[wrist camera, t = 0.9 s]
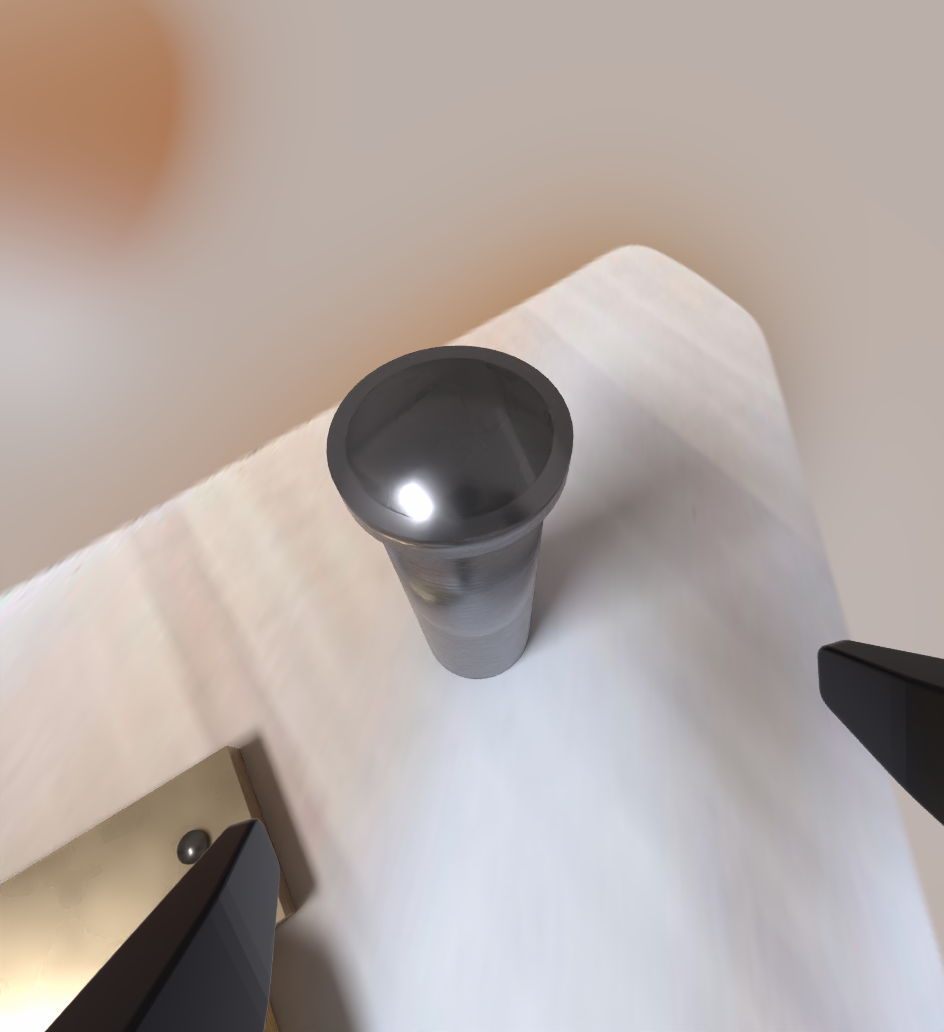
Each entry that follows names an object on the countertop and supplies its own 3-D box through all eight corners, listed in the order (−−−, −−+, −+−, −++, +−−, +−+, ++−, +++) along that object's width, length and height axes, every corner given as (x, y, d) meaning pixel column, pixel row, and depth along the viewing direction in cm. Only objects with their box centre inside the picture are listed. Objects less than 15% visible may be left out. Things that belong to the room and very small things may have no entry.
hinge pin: (563, 644, 21) (626, 456, 10) (457, 715, 20) (398, 591, 9) (494, 551, 24) (485, 316, 13) (396, 610, 23) (289, 408, 11)
